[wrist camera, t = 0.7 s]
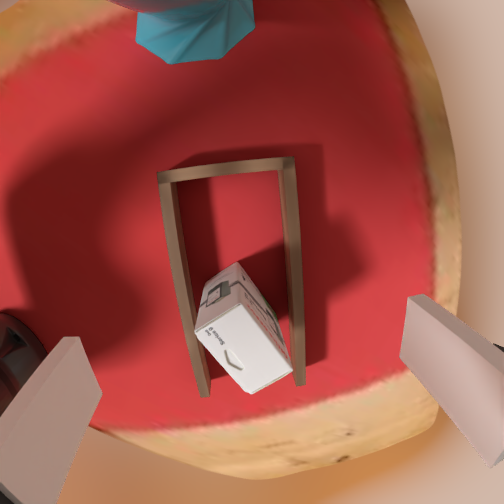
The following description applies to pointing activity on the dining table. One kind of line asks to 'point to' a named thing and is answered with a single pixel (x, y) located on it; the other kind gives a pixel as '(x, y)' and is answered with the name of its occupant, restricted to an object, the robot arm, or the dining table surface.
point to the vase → (190, 27)
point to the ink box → (242, 330)
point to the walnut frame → (290, 248)
